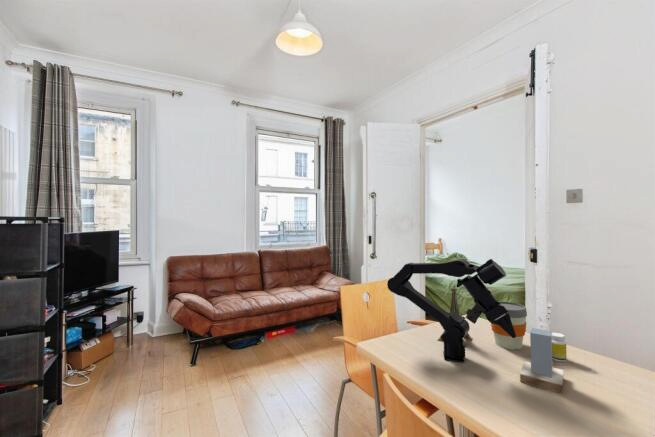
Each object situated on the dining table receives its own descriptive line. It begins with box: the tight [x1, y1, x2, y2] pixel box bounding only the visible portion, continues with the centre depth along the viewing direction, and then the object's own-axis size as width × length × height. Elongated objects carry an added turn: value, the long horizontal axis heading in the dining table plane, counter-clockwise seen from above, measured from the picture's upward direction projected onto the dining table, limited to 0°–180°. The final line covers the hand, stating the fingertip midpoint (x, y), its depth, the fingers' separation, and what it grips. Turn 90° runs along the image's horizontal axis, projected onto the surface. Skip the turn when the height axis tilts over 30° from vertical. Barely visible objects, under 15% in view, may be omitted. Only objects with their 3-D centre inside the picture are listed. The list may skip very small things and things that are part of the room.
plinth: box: [519, 360, 564, 394], centre depth 91 cm, size 10×10×2 cm
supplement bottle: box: [552, 332, 568, 363], centre depth 105 cm, size 5×5×8 cm
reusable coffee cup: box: [490, 300, 528, 350], centre depth 117 cm, size 13×12×15 cm
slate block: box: [529, 327, 553, 378], centre depth 91 cm, size 5×5×12 cm
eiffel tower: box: [436, 286, 474, 348], centre depth 123 cm, size 11×11×25 cm
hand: (512, 335), depth 96 cm, fingers open, 9 cm apart
